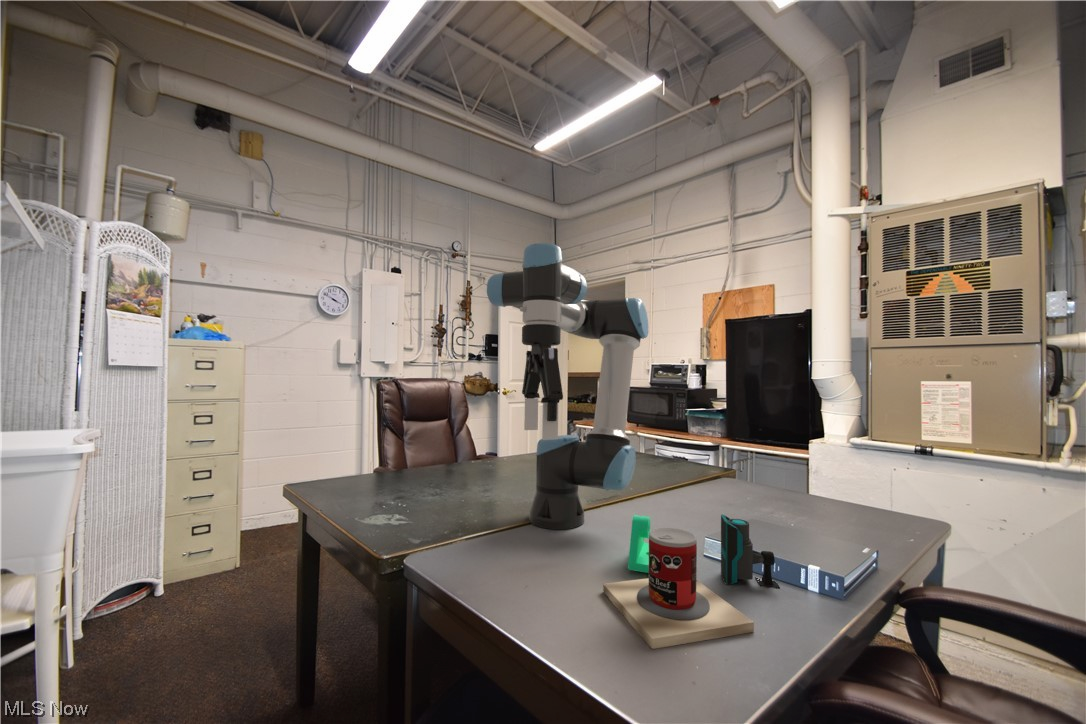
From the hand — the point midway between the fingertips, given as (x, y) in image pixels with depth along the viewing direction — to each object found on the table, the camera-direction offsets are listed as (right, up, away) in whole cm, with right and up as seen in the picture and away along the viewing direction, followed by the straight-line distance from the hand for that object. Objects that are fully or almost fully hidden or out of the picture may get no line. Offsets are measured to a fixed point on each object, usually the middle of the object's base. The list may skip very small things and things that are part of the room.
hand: (539, 434), depth 87 cm
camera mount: (+24, -30, +9) cm, 39 cm away
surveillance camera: (+41, -30, +2) cm, 51 cm away
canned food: (+23, -27, -10) cm, 37 cm away
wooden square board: (+23, -29, -10) cm, 38 cm away
